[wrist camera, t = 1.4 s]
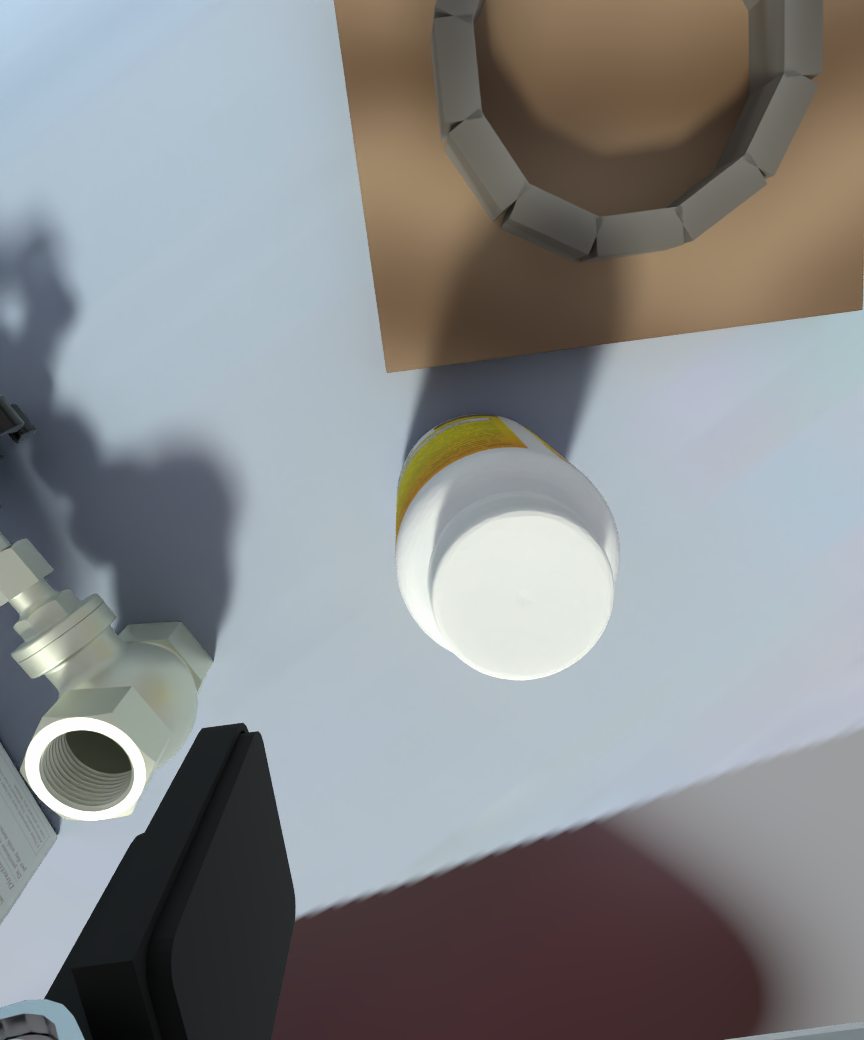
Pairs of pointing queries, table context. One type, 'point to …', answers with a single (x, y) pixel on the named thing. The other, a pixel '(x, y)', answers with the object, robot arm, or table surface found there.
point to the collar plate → (603, 168)
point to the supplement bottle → (503, 548)
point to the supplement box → (19, 835)
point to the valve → (95, 684)
